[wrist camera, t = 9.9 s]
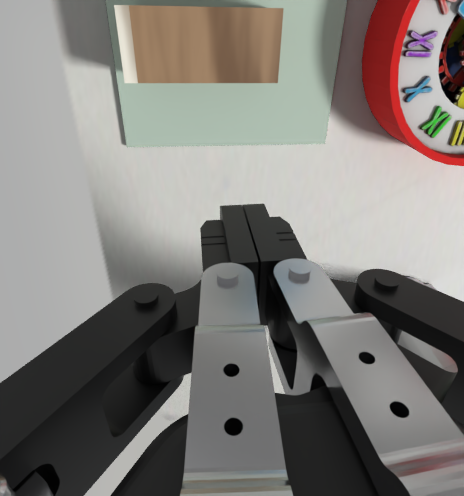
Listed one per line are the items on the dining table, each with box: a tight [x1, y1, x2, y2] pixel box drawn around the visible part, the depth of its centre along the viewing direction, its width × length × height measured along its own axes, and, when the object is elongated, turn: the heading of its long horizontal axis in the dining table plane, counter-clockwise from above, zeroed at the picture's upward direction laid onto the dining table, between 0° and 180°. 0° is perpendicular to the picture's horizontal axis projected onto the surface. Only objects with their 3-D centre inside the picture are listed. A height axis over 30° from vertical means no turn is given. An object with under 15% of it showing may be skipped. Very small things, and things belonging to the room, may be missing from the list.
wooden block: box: [114, 5, 284, 83], centre depth 29 cm, size 5×5×12 cm
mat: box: [105, 0, 347, 147], centre depth 32 cm, size 20×18×1 cm
